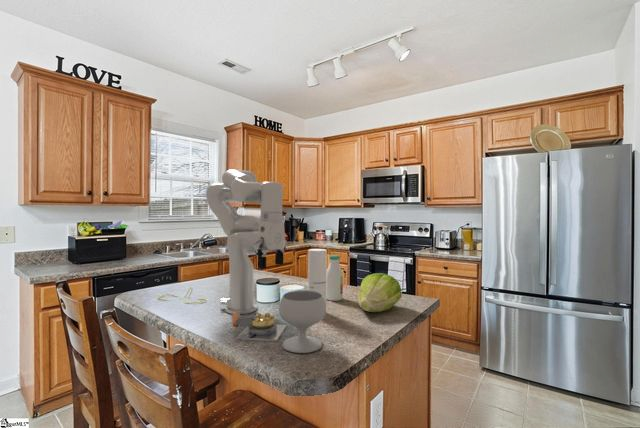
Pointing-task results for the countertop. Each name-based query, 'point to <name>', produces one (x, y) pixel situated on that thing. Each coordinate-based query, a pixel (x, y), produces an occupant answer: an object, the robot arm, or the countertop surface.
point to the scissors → (184, 297)
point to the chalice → (302, 318)
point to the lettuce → (378, 292)
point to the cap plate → (262, 338)
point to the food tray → (253, 320)
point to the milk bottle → (334, 280)
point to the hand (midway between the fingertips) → (270, 266)
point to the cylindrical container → (317, 271)
